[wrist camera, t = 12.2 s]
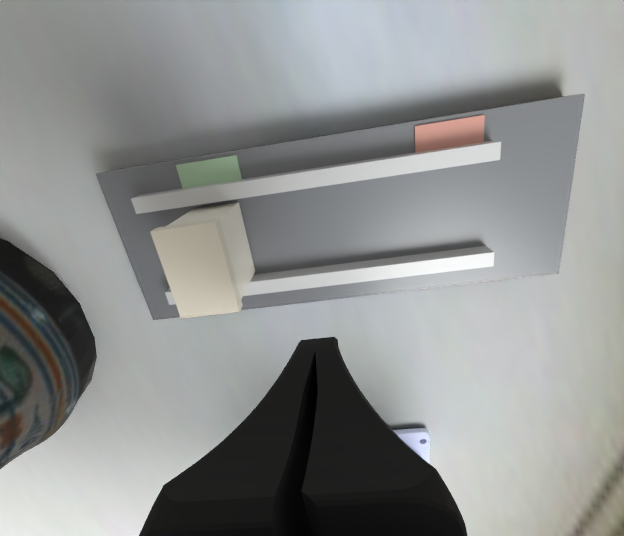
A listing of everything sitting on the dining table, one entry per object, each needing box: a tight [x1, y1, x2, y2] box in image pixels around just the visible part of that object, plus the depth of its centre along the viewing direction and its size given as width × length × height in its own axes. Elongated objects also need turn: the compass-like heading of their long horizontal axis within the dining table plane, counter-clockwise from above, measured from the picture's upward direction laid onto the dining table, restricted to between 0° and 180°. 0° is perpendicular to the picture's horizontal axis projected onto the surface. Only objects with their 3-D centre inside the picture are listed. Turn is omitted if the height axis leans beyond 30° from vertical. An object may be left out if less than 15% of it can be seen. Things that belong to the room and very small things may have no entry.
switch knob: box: [150, 202, 255, 319], centre depth 16 cm, size 4×3×4 cm, turn 9°
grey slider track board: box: [96, 94, 585, 320], centre depth 18 cm, size 9×24×2 cm, turn 99°
